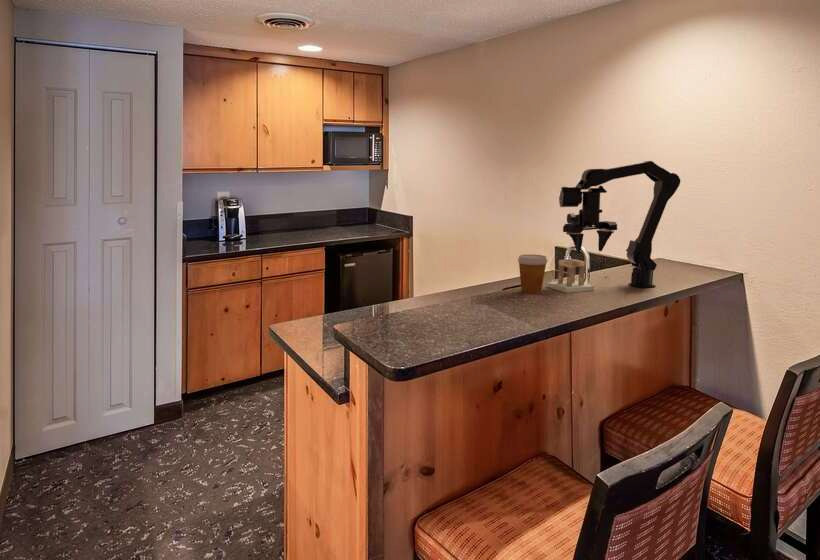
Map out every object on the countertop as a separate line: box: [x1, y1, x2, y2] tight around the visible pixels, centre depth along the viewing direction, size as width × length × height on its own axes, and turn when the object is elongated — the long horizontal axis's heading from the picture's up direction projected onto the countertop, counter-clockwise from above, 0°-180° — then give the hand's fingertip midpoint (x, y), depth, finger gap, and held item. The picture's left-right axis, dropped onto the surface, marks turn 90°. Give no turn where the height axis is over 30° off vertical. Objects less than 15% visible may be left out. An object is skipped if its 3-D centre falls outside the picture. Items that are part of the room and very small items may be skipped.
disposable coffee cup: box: [517, 253, 548, 295], centre depth 185 cm, size 10×10×12 cm
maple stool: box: [557, 258, 586, 286], centre depth 191 cm, size 6×6×8 cm
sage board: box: [546, 280, 595, 294], centre depth 192 cm, size 11×11×2 cm
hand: (589, 252), depth 195 cm, fingers open, 9 cm apart
